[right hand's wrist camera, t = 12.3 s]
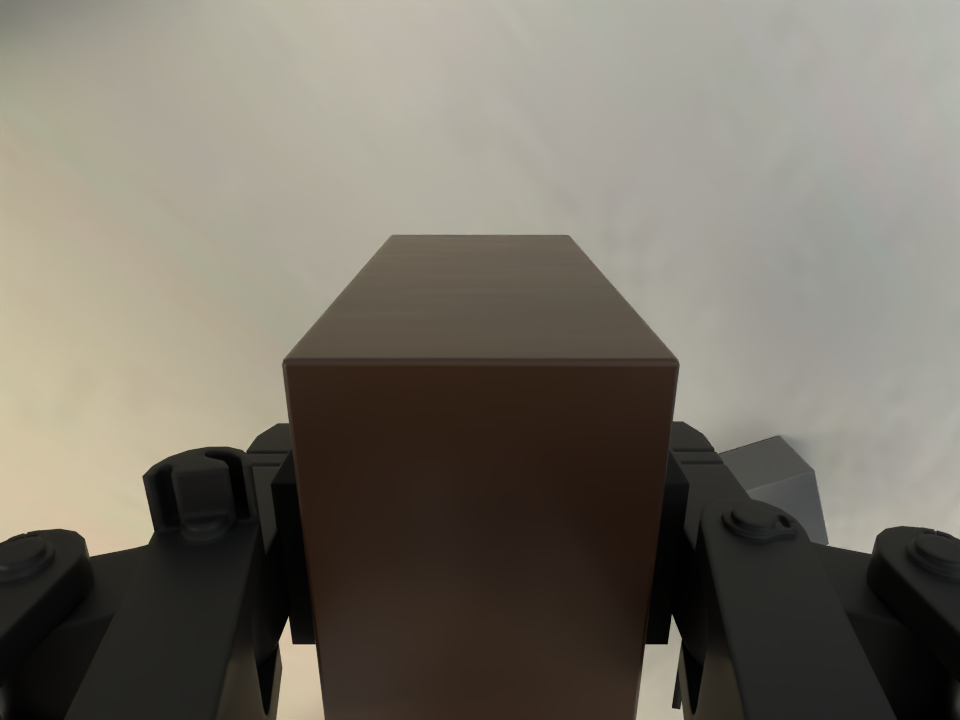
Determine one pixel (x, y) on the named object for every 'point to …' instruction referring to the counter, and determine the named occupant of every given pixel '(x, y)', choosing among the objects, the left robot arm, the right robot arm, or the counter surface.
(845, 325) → the counter surface
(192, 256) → the counter surface
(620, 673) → the walnut bar
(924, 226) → the counter surface
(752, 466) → the slate block
